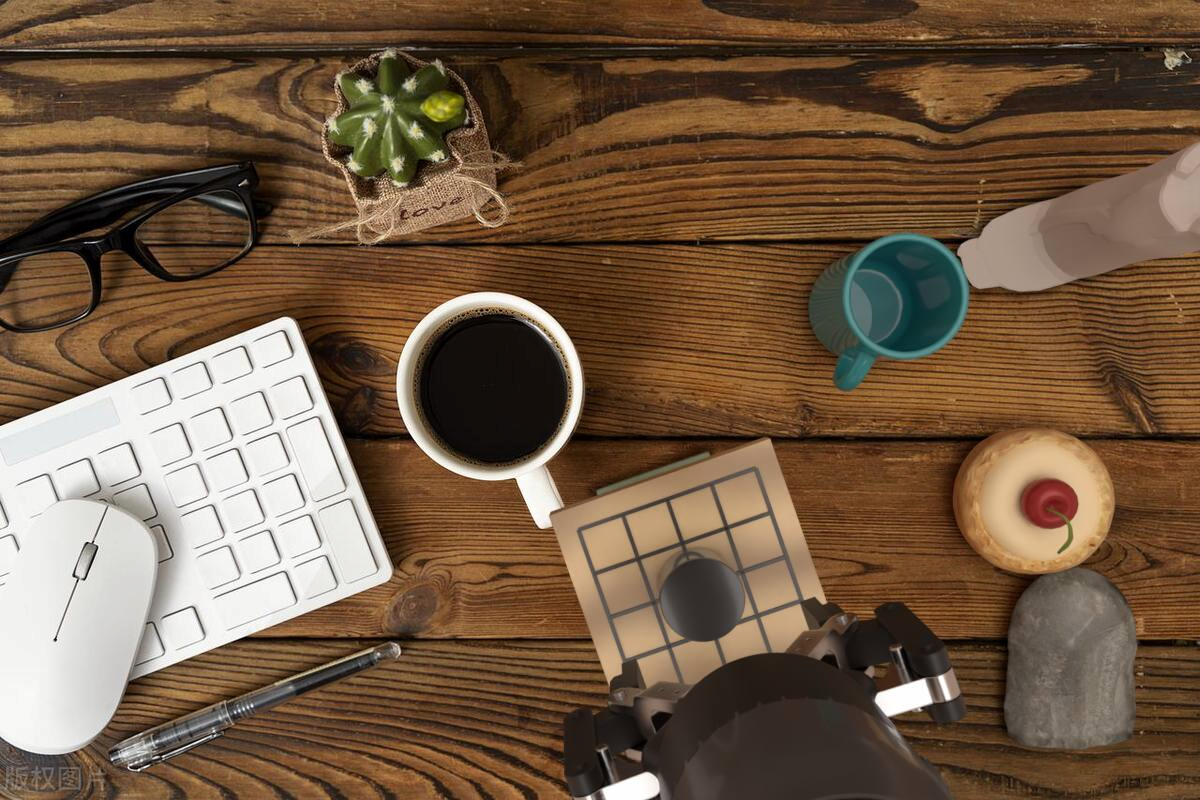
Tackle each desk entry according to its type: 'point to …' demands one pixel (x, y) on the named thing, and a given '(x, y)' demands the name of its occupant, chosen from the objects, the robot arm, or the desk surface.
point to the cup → (888, 304)
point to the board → (680, 521)
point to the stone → (1071, 663)
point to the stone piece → (700, 594)
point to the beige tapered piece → (1092, 229)
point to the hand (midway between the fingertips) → (725, 649)
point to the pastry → (1033, 500)
